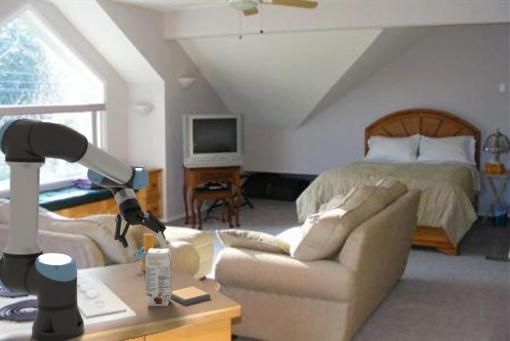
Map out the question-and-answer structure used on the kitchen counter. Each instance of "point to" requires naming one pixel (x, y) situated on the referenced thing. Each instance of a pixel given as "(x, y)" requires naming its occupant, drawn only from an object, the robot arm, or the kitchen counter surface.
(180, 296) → the board
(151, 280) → the juice carton
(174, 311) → the kitchen counter surface
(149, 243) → the yellow and blue piece
